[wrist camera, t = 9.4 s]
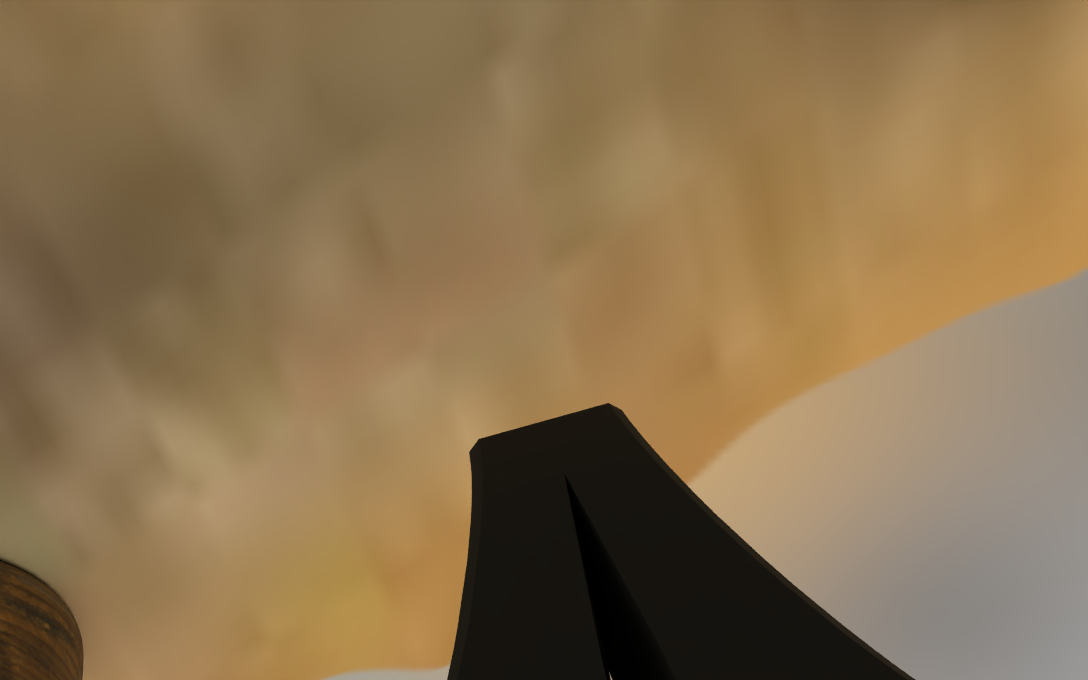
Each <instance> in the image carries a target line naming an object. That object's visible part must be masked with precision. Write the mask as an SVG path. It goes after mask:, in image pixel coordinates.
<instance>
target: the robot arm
mask: <svg viewBox="0 0 1088 680" xmlns="http://www.w3.org/2000/svg"><path fill="white" fill-rule="evenodd" d="M469 454H470V462H471V472H472V509H471V526H470V537H469V548H468V559H467V567H466V574H465V580H464V587H463V594H462V601H461V608H460V615H459V622H458V629H457V634H456V640H455V645H454V651H453V655H452V660H451V665H450V669H449V674H448V679H447V680H611V679H610V675H611V677H612V680H915V679H914V678H912V677H911V676H909V675H908V674H906V673H905V672H904V671H902V670H901V669H899V668H898V667H897V666H895V665H894V664H892V663H891V662H890V661H889V660H887V659H886V658H884V657H883V656H882V655H881V654H879V653H878V652H877V651H875V650H874V649H873V648H871V647H870V646H869V645H868V644H866V643H865V642H864V641H862V640H861V639H860V638H859V637H857V636H856V635H855V634H853V633H852V632H851V631H850V630H848V629H847V628H846V627H844V626H843V625H842V624H841V623H839V622H838V621H837V620H836V619H835V618H833V617H832V616H831V615H830V614H828V613H827V612H826V611H825V610H824V609H822V608H821V607H820V606H819V605H817V604H816V603H815V602H814V601H812V600H811V599H810V598H809V597H808V596H807V595H805V594H804V593H803V592H802V591H800V590H799V589H798V588H797V587H796V586H794V585H793V584H792V583H791V582H790V581H789V580H787V579H786V578H785V577H784V576H783V575H782V574H781V573H779V572H778V571H777V570H776V569H775V568H774V567H773V566H771V565H770V564H769V563H768V562H767V561H766V560H765V559H764V558H762V557H761V556H760V555H759V554H758V553H757V552H756V551H755V550H754V549H753V548H752V547H750V545H748V544H747V543H746V542H745V541H744V540H743V539H742V538H741V537H740V536H739V535H738V534H737V533H735V532H734V531H733V530H732V529H731V528H730V527H729V526H728V525H727V524H726V523H725V522H724V521H723V520H721V519H720V518H719V517H718V516H717V515H716V514H715V513H714V512H713V511H712V510H711V509H710V508H709V507H708V506H707V505H706V504H705V503H704V502H703V501H702V500H701V499H700V498H699V497H698V496H697V495H696V494H695V493H694V492H693V491H692V490H691V489H690V488H689V487H688V486H687V485H686V484H685V483H684V482H683V481H682V480H681V479H680V478H679V476H678V475H677V474H676V473H675V472H674V471H673V470H672V469H671V468H670V467H669V466H668V465H667V464H666V463H665V462H664V461H663V459H662V458H661V457H660V456H659V455H658V454H657V453H656V452H655V451H654V449H653V448H652V447H651V446H650V445H649V444H648V443H647V441H646V440H645V439H644V438H643V437H642V435H641V434H640V433H639V432H638V431H637V429H636V428H635V427H634V426H633V424H632V423H631V422H630V421H629V419H628V418H627V417H626V415H625V414H624V413H623V411H622V410H621V409H619V408H617V407H615V406H613V405H611V404H609V403H607V404H603V405H600V406H596V407H593V408H589V409H585V410H582V411H578V412H575V413H571V414H567V415H564V416H560V417H557V418H553V419H549V420H546V421H542V422H539V423H535V424H531V425H528V426H524V427H521V428H517V429H513V430H510V431H506V432H503V433H499V434H495V435H492V436H488V437H485V438H481V439H479V440H478V441H477V442H476V444H475V445H474V446H473V448H472V449H471V450H470V452H469ZM609 673H610V674H609Z"/></svg>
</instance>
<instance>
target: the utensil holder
mask: <svg viewBox="0 0 1088 680" xmlns="http://www.w3.org/2000/svg"><path fill="white" fill-rule="evenodd" d="M82 676H83V644H82V638H81V634H80V631H79V628H78V625H77V623H76V620H75V618H74V616H73V615H72V613H71V611H70V610H69V608H68V607H67V606H66V604H65V603H64V602H63V601H62V600H61V598H60V597H59V596H58V595H57V594H56V593H55V592H53V591H52V590H51V589H50V588H49V587H48V586H46V585H45V584H44V583H42V582H41V581H39V580H38V579H36V578H35V577H33V576H31V575H30V574H28V573H26V572H24V571H22V570H20V569H18V568H16V567H13V566H11V565H9V564H6V563H3V562H0V680H82Z"/></svg>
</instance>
